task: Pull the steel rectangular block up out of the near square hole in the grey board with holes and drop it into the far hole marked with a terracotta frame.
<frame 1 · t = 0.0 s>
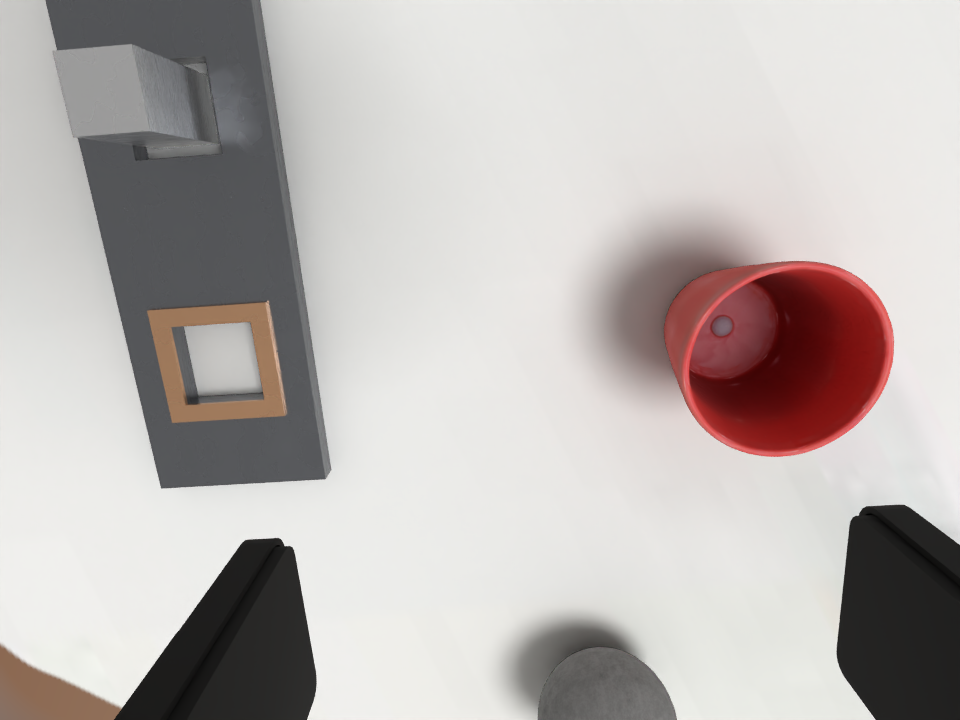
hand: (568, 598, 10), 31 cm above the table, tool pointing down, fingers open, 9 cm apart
flower pot: (718, 324, 41), on the table
grey board with holes: (206, 241, 39), on the table
steel rectangular block: (182, 112, 37), resting in grey board with holes
decorative ball: (594, 668, 48), on the table
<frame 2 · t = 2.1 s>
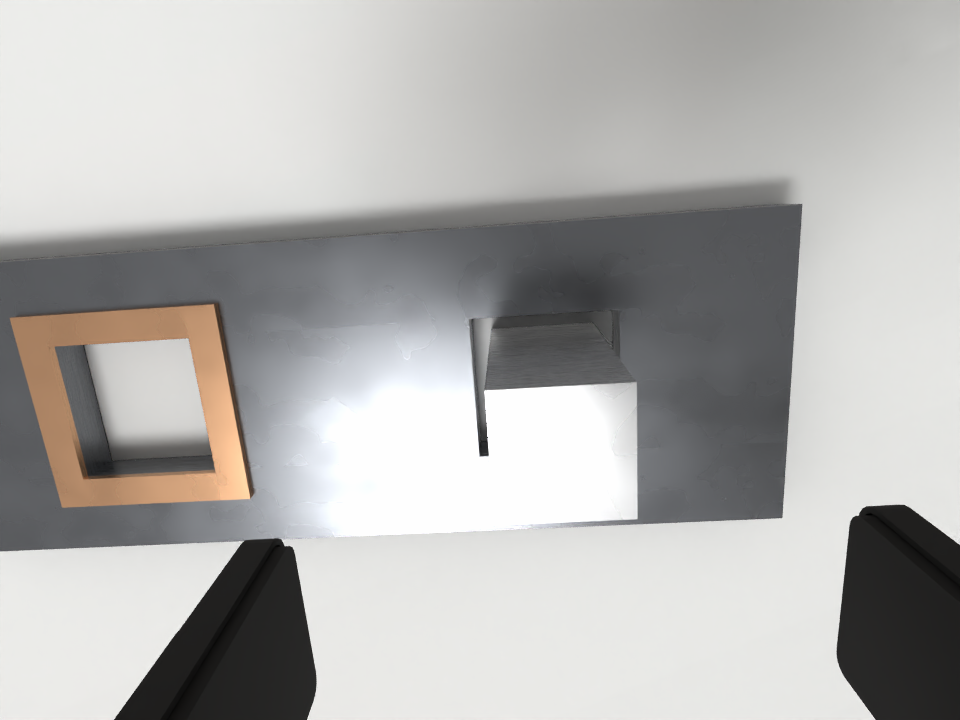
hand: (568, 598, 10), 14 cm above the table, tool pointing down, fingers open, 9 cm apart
grey board with holes: (348, 385, 24), on the table
steel rectangular block: (544, 374, 24), resting in grey board with holes
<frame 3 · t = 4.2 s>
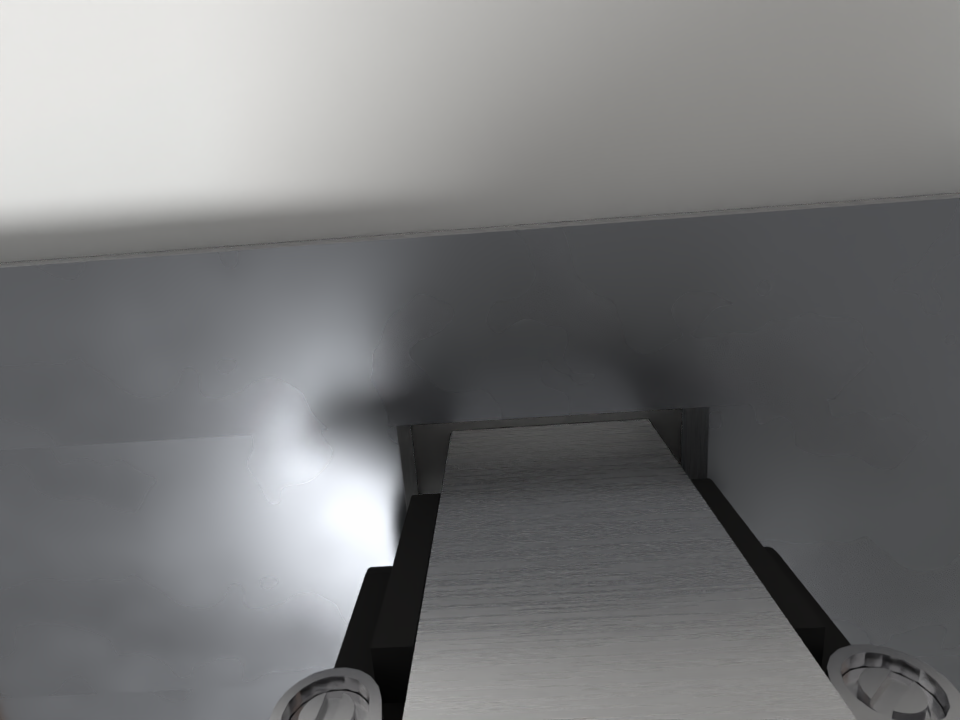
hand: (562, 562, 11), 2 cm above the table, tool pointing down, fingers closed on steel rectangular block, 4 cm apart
grey board with holes: (181, 532, 13), on the table
steel rectangular block: (553, 512, 13), resting in grey board with holes, touching gripper
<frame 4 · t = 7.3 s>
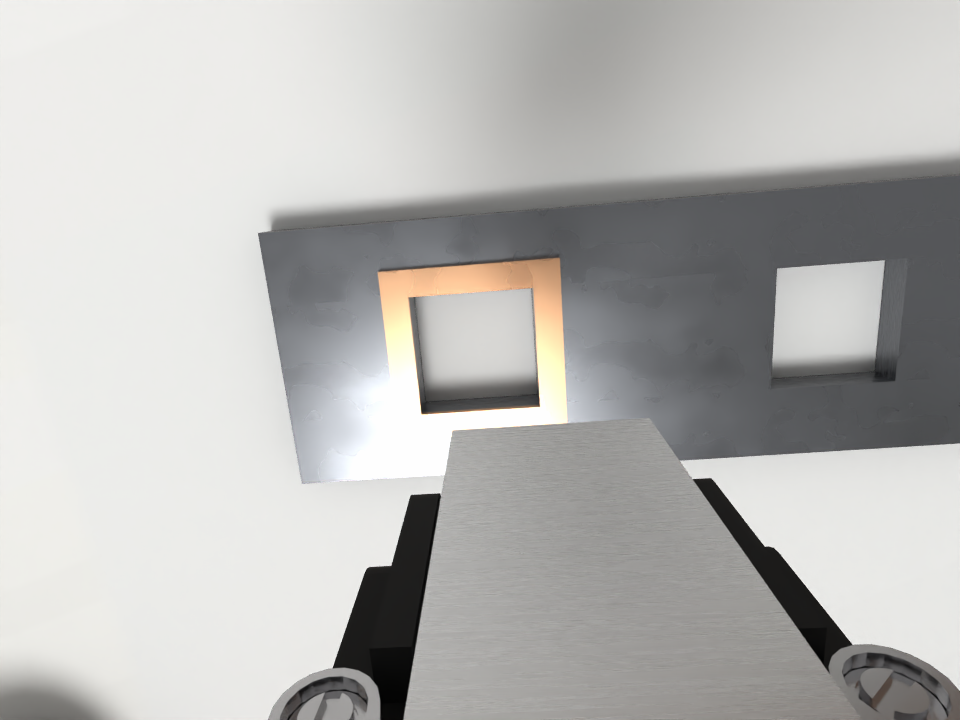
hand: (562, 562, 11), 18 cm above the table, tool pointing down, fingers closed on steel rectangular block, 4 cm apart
grey board with holes: (645, 331, 28), on the table
steel rectangular block: (554, 511, 13), point 16 cm above the table, touching gripper
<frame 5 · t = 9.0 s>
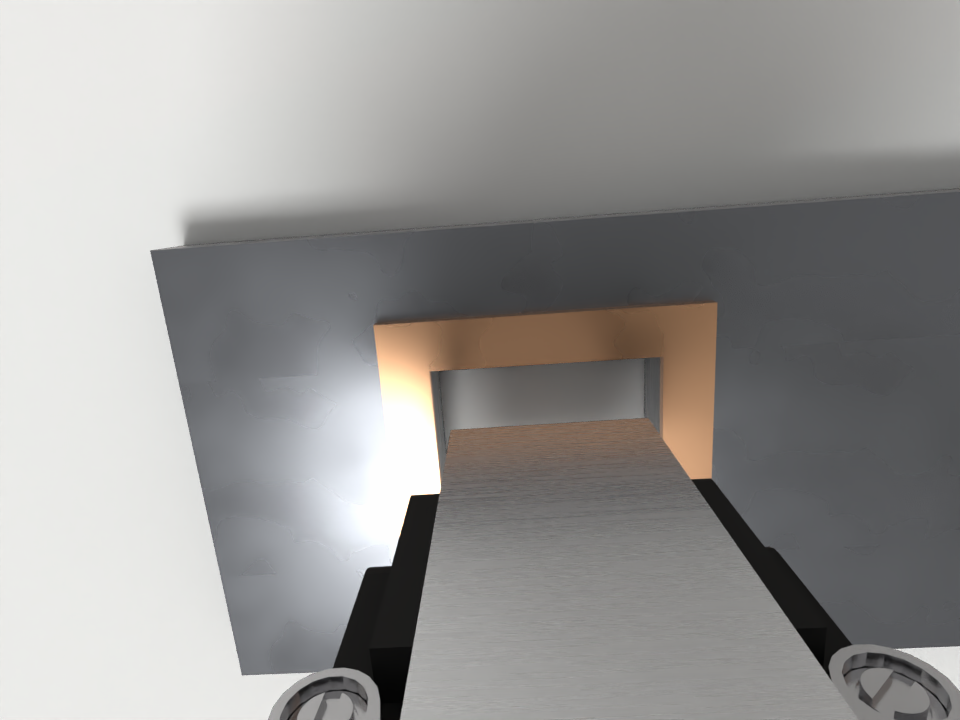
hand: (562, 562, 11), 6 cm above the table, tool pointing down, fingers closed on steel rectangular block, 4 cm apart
grey board with holes: (840, 425, 16), on the table
steel rectangular block: (552, 511, 13), point 4 cm above the table, touching gripper
when the fingers open (3 cm above the table, at t = 10.2 s): steel rectangular block drops 1 cm, resting in grey board with holes.
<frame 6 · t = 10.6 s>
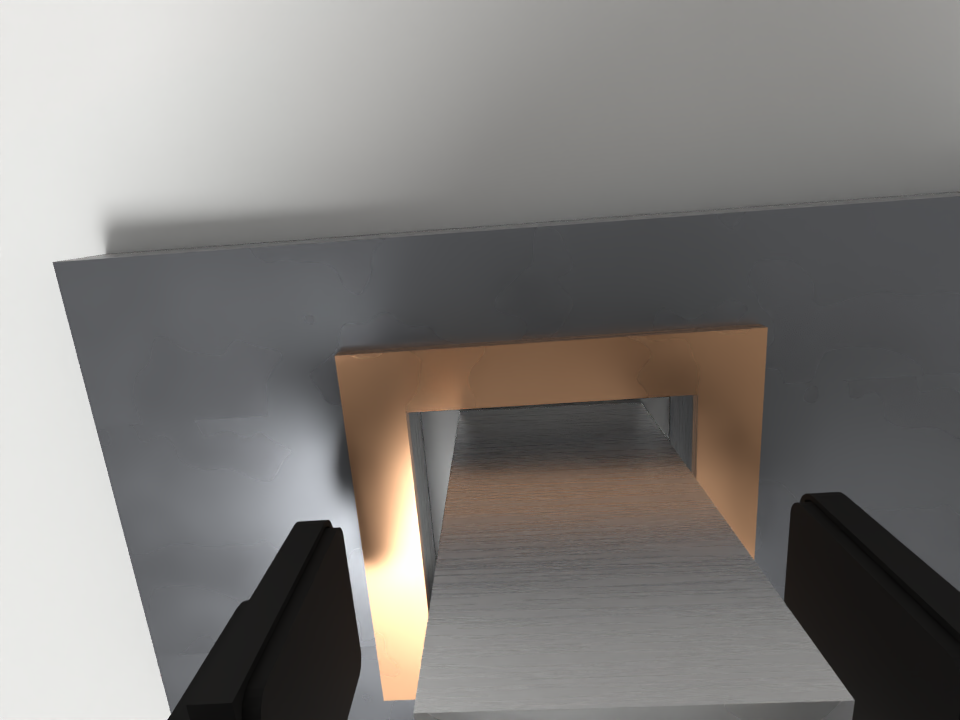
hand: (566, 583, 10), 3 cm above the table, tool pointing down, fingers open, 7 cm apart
grey board with holes: (905, 470, 13), on the table
steel rectangular block: (552, 488, 14), resting in grey board with holes
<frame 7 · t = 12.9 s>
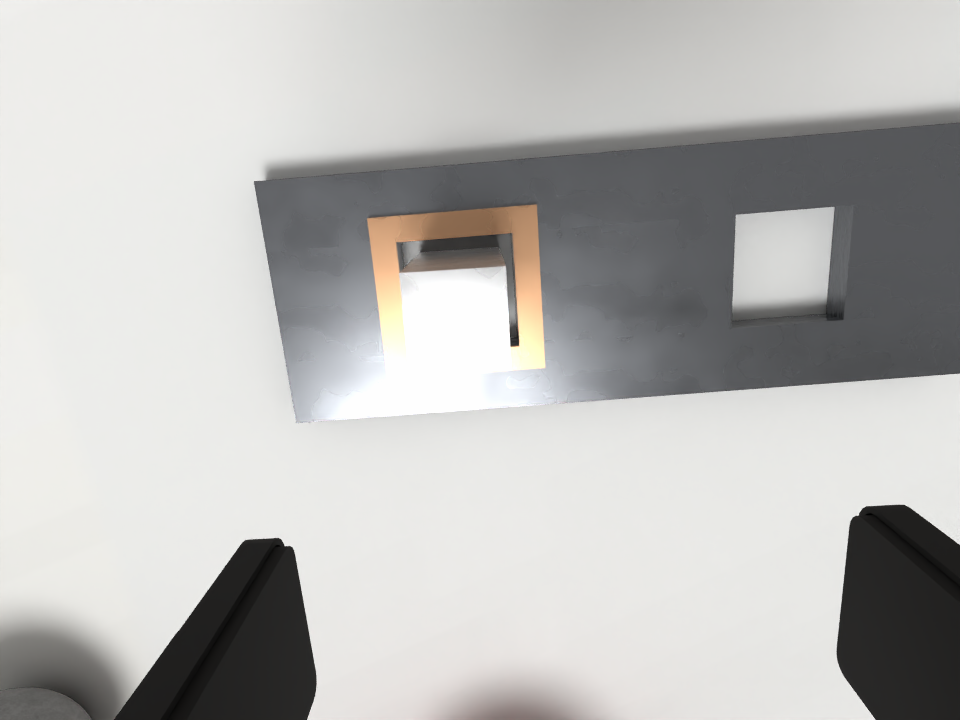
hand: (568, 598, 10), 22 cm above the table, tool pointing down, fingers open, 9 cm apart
grey board with holes: (617, 277, 30), on the table
steel rectangular block: (462, 289, 30), resting in grey board with holes
decorative ball: (58, 711, 38), on the table
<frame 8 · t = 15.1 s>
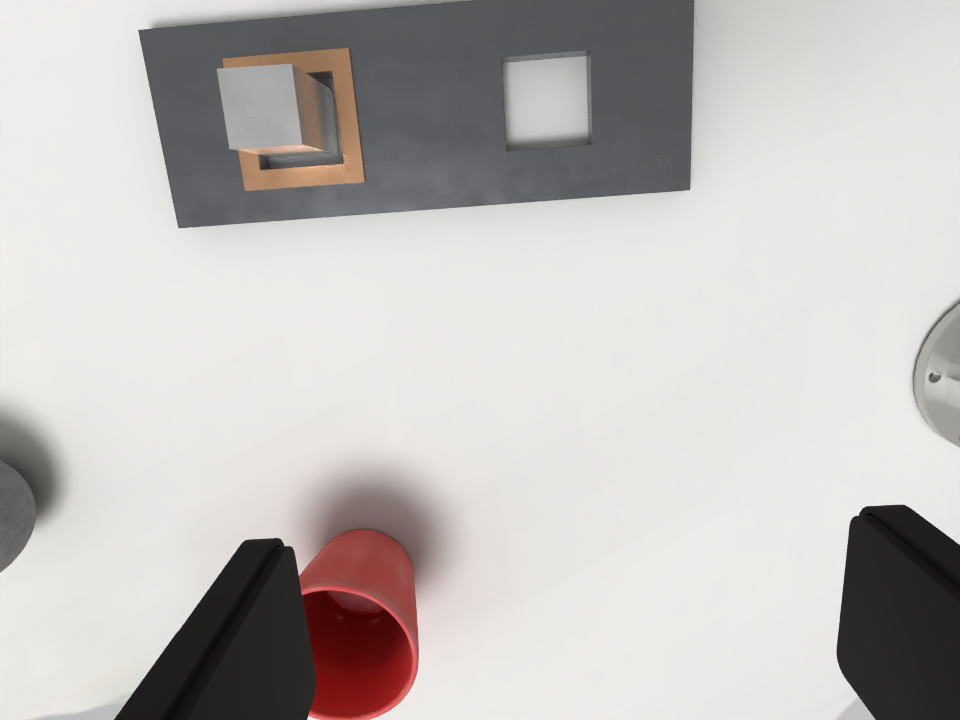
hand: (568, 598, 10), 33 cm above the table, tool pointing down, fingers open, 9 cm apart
flower pot: (367, 567, 49), on the table
grey board with holes: (423, 115, 39), on the table
steel rectangular block: (305, 124, 39), resting in grey board with holes
decorative ball: (5, 487, 47), on the table
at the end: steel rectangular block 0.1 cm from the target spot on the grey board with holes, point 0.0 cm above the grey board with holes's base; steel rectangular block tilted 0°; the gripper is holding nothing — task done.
